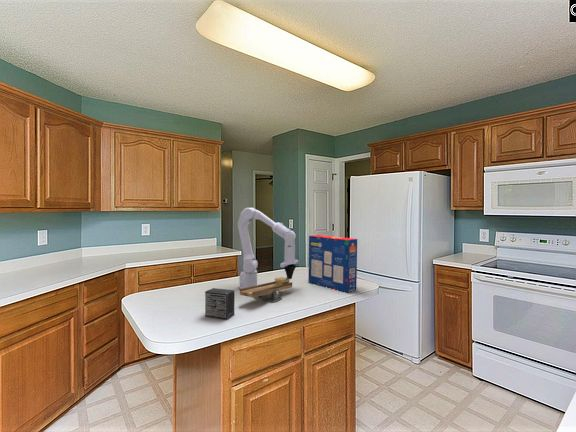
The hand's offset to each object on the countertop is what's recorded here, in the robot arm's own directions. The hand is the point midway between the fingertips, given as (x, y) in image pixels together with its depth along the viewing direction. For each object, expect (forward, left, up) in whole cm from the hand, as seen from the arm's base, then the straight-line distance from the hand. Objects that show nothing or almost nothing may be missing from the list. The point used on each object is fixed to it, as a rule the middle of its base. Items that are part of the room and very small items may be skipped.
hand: (289, 278), depth 162 cm
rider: (0, -7, -2) cm, 7 cm away
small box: (-2, -48, -6) cm, 48 cm away
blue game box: (+15, +20, -6) cm, 26 cm away
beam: (0, -19, -2) cm, 19 cm away
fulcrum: (0, -19, -6) cm, 20 cm away
